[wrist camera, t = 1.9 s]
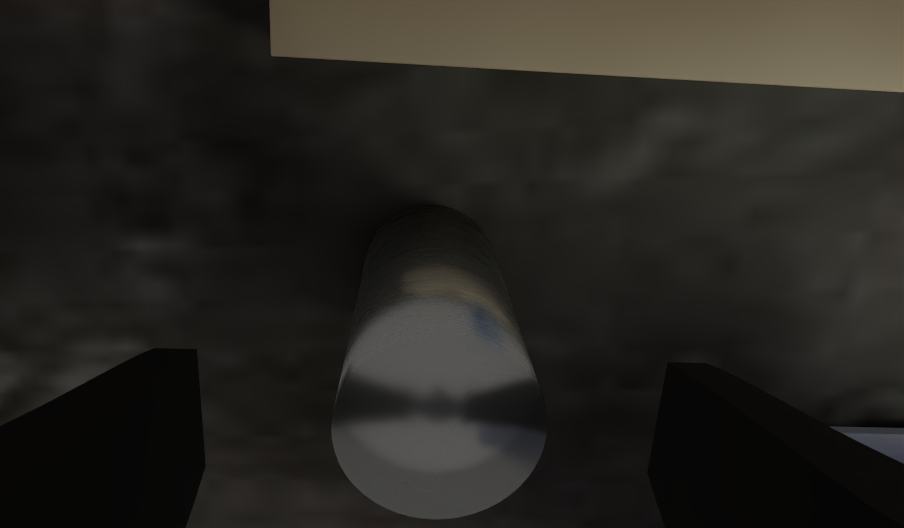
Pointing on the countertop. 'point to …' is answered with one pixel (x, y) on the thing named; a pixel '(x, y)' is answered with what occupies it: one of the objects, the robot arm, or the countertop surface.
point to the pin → (436, 374)
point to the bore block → (613, 37)
